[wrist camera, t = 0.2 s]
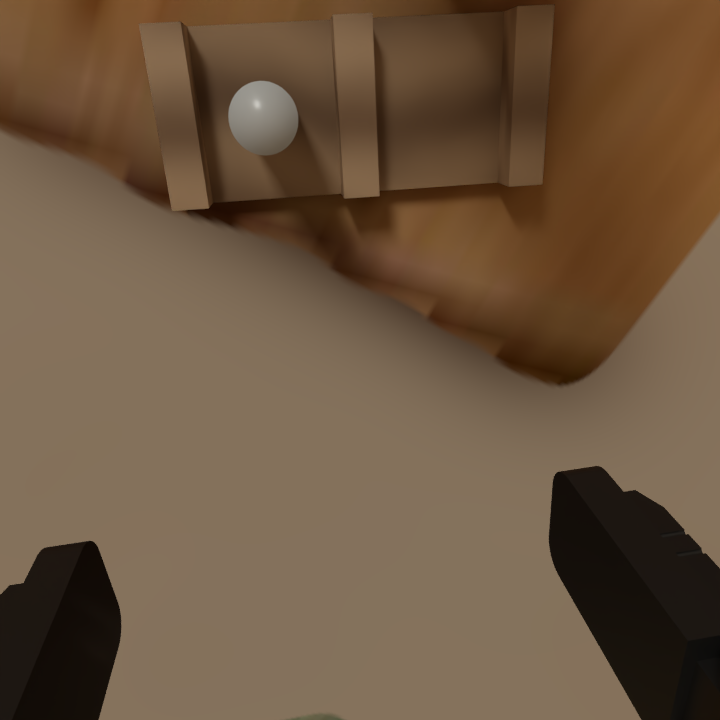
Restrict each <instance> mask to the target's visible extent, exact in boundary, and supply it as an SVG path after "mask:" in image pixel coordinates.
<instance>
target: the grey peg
mask: <svg viewBox="0 0 720 720" xmlns="http://www.w3.org/2000/svg"><path fill="white" fill-rule="evenodd" d="M228 118H229V125H230V129H231V131H232V134H233V136H234V137H235V139H236V140H237V141H238V143H239V144H240V145H241V146H242V147H244V148H245V149H246V150H248V151H250V152H252V153H254V154H258V155H273V154H277V153H279V152H281V151H283V150H284V149H285V148H287V147H288V146H289V145H290V144H291V142H292V141H293V139H294V137H295V135H296V132H297V128H298V112H297V108H296V106H295V103H294V101H293V99H292V98H291V96H290V95H289V94H288V93H287V92H286V91H285V90H284V89H283V88H282V87H280V86H278V85H276V84H274V83H271V82H268V81H255V82H251V83H249V84H246V85H245V86H243V87H242V88H241V89H239V90H238V91H237V93H236V94H235V95H234V97H233V99H232V101H231V103H230V106H229V113H228Z"/></svg>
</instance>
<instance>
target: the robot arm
mask: <svg viewBox="0 0 720 720" xmlns="http://www.w3.org/2000/svg"><path fill="white" fill-rule="evenodd" d="M549 546H550V552H551V557H552V560H553V564H554V566H555V568H556V571H557V573H558V575H559V577H560V579H561V580H562V582H563V584H564V586H565V587H566V589H567V591H568V593H569V594H570V596H571V598H572V599H573V601H574V603H575V605H576V606H577V608H578V610H579V612H580V613H581V615H582V617H583V619H584V620H585V622H586V624H587V626H588V627H589V629H590V631H591V632H592V634H593V636H594V638H595V639H596V641H597V643H598V645H599V646H600V648H601V650H602V652H603V653H604V655H605V657H606V659H607V660H608V662H609V664H610V666H611V667H612V669H613V671H614V672H615V674H616V676H617V678H618V680H619V681H620V683H621V685H622V686H623V688H624V690H625V692H626V693H627V695H628V697H629V699H630V700H631V702H632V704H633V706H634V707H635V709H636V711H637V713H638V714H639V716H640V718H641V719H642V720H720V568H719V567H718V566H717V565H716V564H715V563H714V562H713V561H712V560H711V558H710V557H709V556H708V555H707V554H703V553H702V550H701V547H700V546H699V545H698V544H697V543H696V542H695V541H694V540H693V539H692V538H691V537H690V536H689V535H688V534H687V535H686V534H685V532H684V529H683V528H682V527H681V526H680V524H678V522H677V521H676V520H675V519H674V518H673V517H672V516H671V515H670V514H669V512H668V511H667V510H666V509H665V508H664V507H662V506H661V505H659V504H657V503H656V502H654V501H652V500H651V499H649V498H647V497H646V496H644V495H642V494H641V493H639V492H638V491H636V490H633V491H628V492H623V491H622V489H621V488H620V487H619V486H618V485H617V484H616V482H615V481H614V480H613V479H612V478H611V476H609V474H608V473H607V472H606V471H605V470H604V469H603V468H602V467H599V466H594V467H588V468H581V469H574V470H568V471H561V472H557V473H556V474H555V476H554V479H553V488H552V501H551V517H550V529H549ZM120 637H121V615H120V609H119V605H118V602H117V599H116V596H115V593H114V591H113V588H112V585H111V582H110V579H109V577H108V574H107V571H106V568H105V565H104V563H103V560H102V557H101V554H100V552H99V549H98V547H97V545H96V544H95V543H94V542H93V541H86V542H80V543H74V544H67V545H59V546H53V547H47V548H44V549H42V550H41V551H40V552H39V554H38V555H37V557H36V559H35V561H34V564H33V566H32V567H31V569H30V571H29V573H28V575H27V577H26V579H25V581H24V583H22V584H16V585H10V586H9V587H8V588H7V589H6V590H5V591H4V592H3V593H2V594H1V595H0V720H98V719H99V716H100V712H101V709H102V705H103V701H104V698H105V694H106V690H107V687H108V683H109V679H110V676H111V672H112V669H113V665H114V662H115V658H116V654H117V651H118V647H119V643H120Z"/></svg>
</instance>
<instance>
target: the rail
mask: <svg viewBox="0 0 720 720" xmlns="http://www.w3.org/2000/svg"><path fill="white" fill-rule="evenodd" d="M554 9H555V4H551V5H529V6H516V7H514V8H511V9H509V10H507V11H504V12H484V13H463V14H442V15H420V16H399V17H378V18H373V15H372V13H358V14H336V15H332V17H331V19H330V20H315V21H293V22H272V23H251V24H230V25H209V26H188V27H187V26H185V25H184V24H183V23H181V22H164V23H143V24H139V28H140V34H141V39H142V45H143V50H144V56H145V62H146V67H147V73H148V79H149V84H150V90H151V95H152V101H153V107H154V112H155V118H156V124H157V129H158V135H159V140H160V146H161V152H162V157H163V163H164V168H165V174H166V180H167V185H168V191H169V197H170V202H171V208H172V211H180V210H194V209H208V208H210V206H211V205H212V204H213V203H218V202H232V201H246V200H260V199H274V198H288V197H302V196H316V195H330V194H342V196H343V197H344V199H347V198H361V197H375V196H380V194H379V191H387V190H401V189H415V188H429V187H443V186H457V185H471V184H485V183H500V184H503V185H505V186H508V187H514V186H528V185H542V184H543V170H544V155H545V141H546V126H547V111H548V97H549V82H550V68H551V53H552V38H553V24H554ZM255 81H268V82H271V83H274V84H276V85H278V86H280V87H282V88H283V89H284V90H285V91H286V92H287V93H288V94H289V95H290V96H291V98H292V99H293V101H294V103H295V106H296V108H297V112H298V128H297V132H296V135H295V137H294V139H293V141H292V142H291V144H290V145H289V146H288V147H287V148H285V149H284V150H283V151H281V152H279V153H277V154H273V155H258V154H254V153H252V152H250V151H248V150H246V149H245V148H244V147H242V146H241V145H240V144H239V143H238V141H237V140H236V139H235V137H234V136H233V134H232V131H231V129H230V125H229V118H228V113H229V106H230V103H231V101H232V99H233V97H234V95H235V94H236V93H237V91H238V90H239V89H241V88H242V87H243V86H245V85H246V84H249V83H251V82H255Z"/></svg>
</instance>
